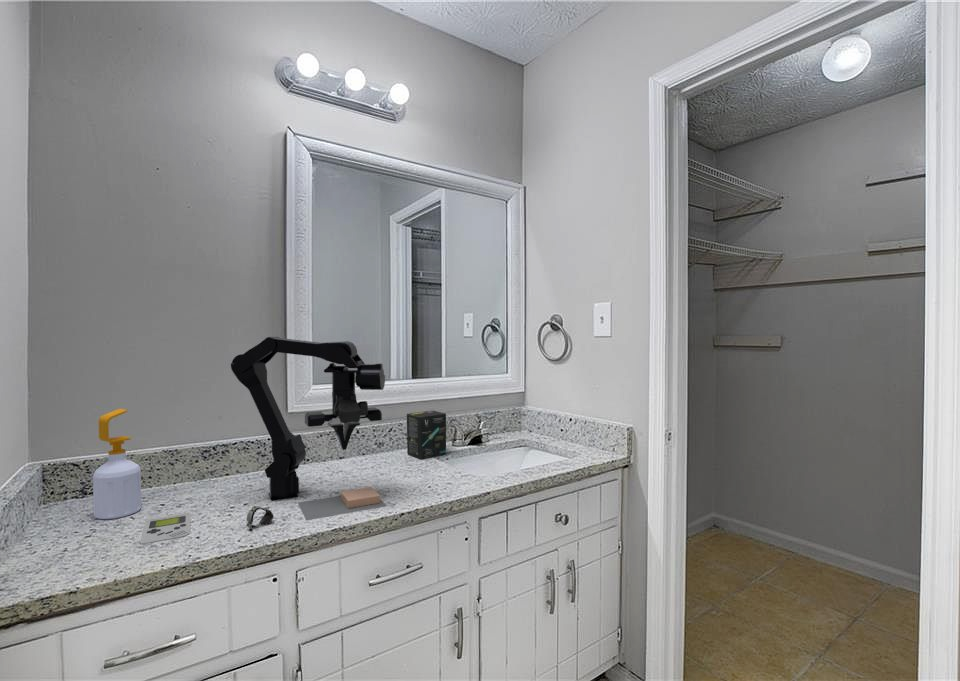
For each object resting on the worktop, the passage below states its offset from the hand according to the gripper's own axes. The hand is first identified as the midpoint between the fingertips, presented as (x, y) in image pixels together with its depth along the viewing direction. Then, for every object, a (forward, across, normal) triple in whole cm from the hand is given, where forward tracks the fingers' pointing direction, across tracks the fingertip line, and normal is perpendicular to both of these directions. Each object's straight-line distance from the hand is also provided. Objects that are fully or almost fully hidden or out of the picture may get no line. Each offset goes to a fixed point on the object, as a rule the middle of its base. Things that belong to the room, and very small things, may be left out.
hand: (344, 449), depth 127 cm
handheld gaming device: (+13, -39, -1) cm, 41 cm away
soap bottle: (+13, -50, +15) cm, 54 cm away
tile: (+11, -1, -6) cm, 13 cm away
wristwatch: (+13, -21, -10) cm, 27 cm away
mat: (+12, -2, -6) cm, 14 cm away
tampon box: (+13, +36, +30) cm, 48 cm away
